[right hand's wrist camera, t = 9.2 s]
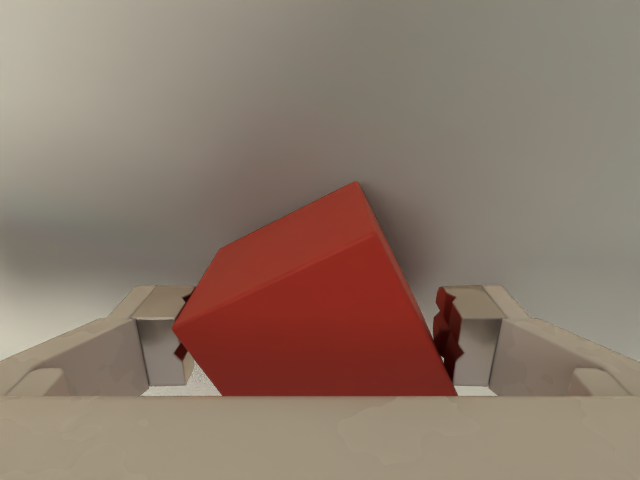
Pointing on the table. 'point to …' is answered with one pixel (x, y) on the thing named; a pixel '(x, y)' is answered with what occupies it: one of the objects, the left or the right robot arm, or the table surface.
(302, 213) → the brick
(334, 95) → the table surface
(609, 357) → the right robot arm
